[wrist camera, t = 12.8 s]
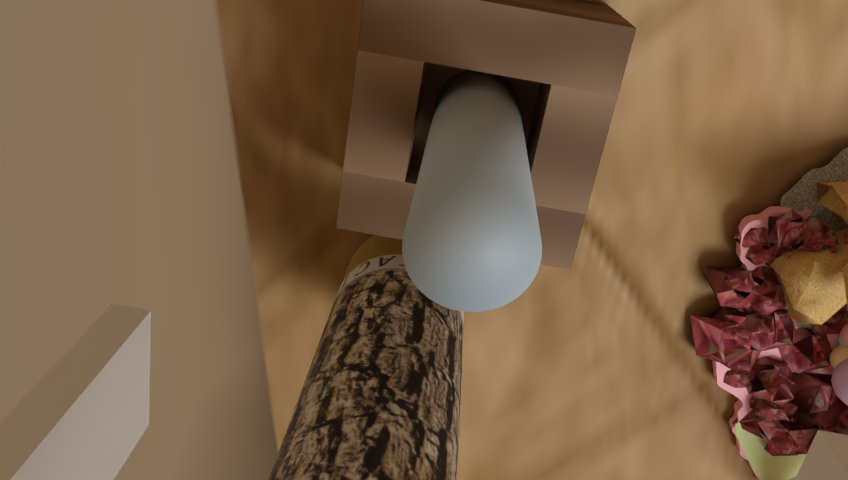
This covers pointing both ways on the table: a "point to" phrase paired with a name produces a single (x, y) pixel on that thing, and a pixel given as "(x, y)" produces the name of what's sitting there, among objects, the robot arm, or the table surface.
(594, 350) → the table surface
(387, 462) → the bark covered log
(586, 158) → the hollow walnut box
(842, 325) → the candy landscape model
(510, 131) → the dowel
